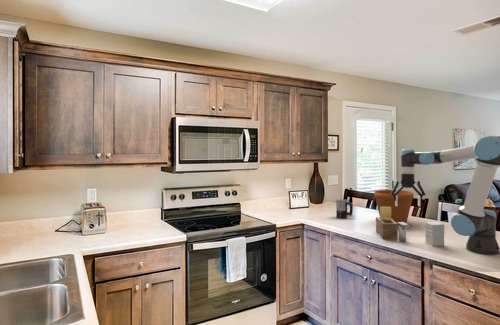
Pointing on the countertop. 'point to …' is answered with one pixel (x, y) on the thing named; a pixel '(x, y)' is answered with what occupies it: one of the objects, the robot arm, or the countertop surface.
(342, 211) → the milk frother
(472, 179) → the robot arm
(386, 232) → the socket block
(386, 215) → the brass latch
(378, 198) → the flowerpot
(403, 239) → the grey block
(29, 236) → the countertop surface
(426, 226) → the supplement box
